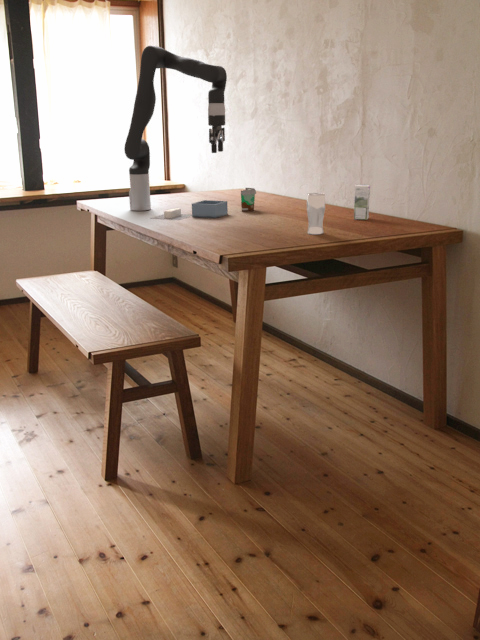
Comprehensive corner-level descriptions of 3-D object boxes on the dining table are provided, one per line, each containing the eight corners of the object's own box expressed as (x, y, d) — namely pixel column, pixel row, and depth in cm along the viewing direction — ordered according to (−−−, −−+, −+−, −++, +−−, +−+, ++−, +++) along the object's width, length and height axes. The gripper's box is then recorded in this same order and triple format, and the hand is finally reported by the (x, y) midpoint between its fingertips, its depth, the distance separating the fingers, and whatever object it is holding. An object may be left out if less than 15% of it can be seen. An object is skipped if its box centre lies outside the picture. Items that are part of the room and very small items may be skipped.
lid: (149, 220, 287) (149, 211, 286) (167, 214, 300) (166, 206, 299) (178, 221, 281) (178, 213, 280) (195, 216, 294) (194, 208, 293)
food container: (253, 212, 298) (253, 190, 295) (241, 212, 299) (240, 190, 296) (258, 208, 309) (258, 187, 306) (246, 208, 310) (245, 187, 307)
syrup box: (368, 218, 276) (370, 184, 272) (366, 220, 271) (368, 185, 267) (355, 217, 278) (356, 183, 274) (353, 219, 273) (354, 185, 268)
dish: (192, 216, 289) (191, 203, 287) (204, 213, 299) (204, 200, 297) (215, 218, 284) (215, 204, 282) (227, 214, 294) (227, 201, 292)
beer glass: (304, 232, 248) (305, 193, 244) (322, 231, 249) (323, 192, 244) (308, 235, 242) (308, 195, 237) (326, 234, 242) (327, 194, 237)
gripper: (214, 114, 289) (214, 151, 294) (202, 114, 276) (203, 153, 281) (229, 114, 287) (230, 151, 292) (219, 114, 274) (220, 153, 279)
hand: (217, 152), depth 286 cm, fingers open, 8 cm apart
